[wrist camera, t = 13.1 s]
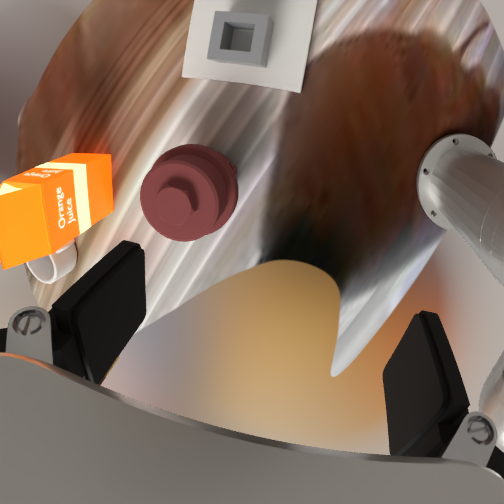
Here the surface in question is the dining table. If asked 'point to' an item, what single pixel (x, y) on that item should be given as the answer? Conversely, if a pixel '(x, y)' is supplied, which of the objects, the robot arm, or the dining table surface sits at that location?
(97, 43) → the dining table surface
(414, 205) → the dining table surface
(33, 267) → the mug
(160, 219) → the mechanical component
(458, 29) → the dining table surface
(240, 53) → the plate
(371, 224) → the dining table surface
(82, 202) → the orange juice
